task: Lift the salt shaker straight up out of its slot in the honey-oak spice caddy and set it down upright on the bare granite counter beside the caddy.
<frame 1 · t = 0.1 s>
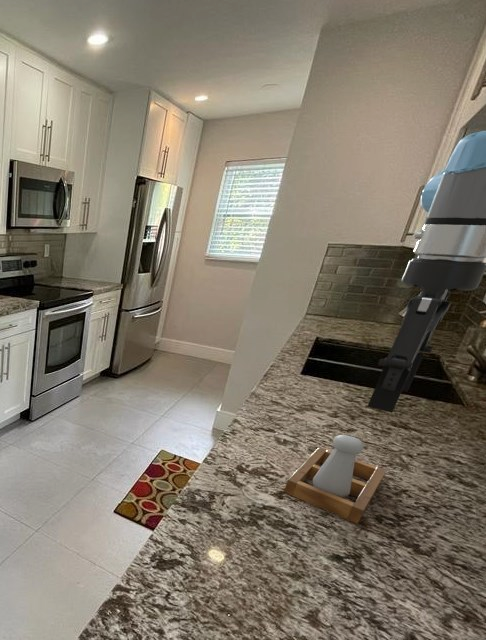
hand: (388, 398, 64), 25 cm above the countertop, tool pointing down, fingers open, 13 cm apart
salt shaker: (326, 496, 81), resting in caddy
caddy: (333, 486, 84), on the countertop
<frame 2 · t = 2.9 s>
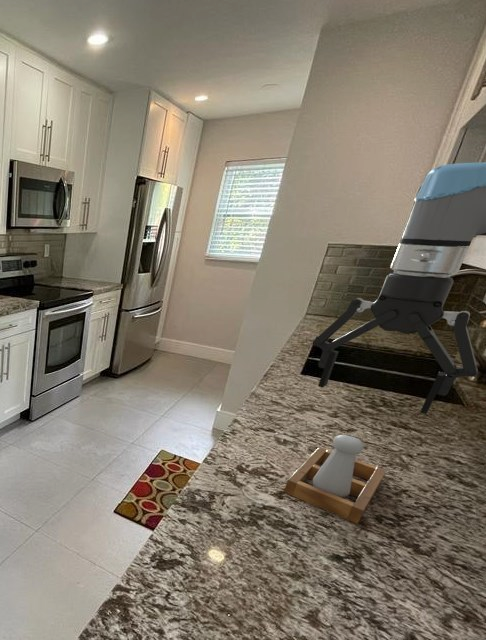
hand: (369, 397, 72), 22 cm above the countertop, tool pointing down, fingers open, 13 cm apart
nothing on the countertop moved.
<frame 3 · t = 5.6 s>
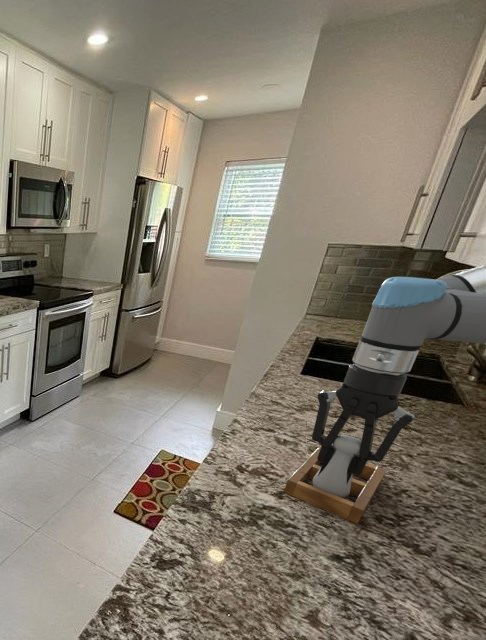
hand: (332, 480, 80), 4 cm above the countertop, tool pointing down, fingers closed on salt shaker, 3 cm apart
salt shaker: (326, 496, 81), resting in caddy, touching gripper
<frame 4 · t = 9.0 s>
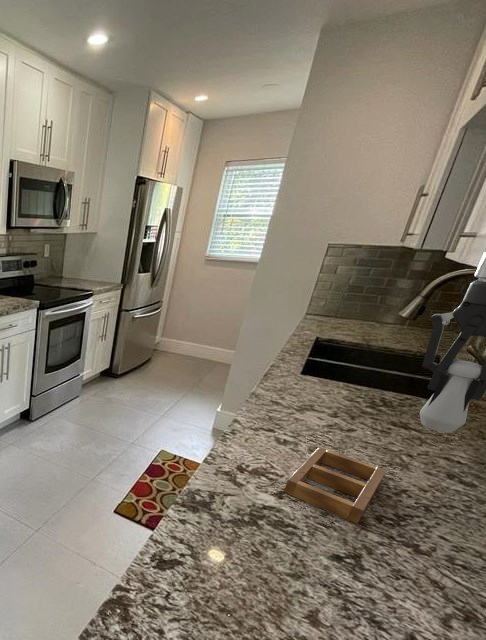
hand: (444, 410, 76), 19 cm above the countertop, tool pointing down, fingers closed on salt shaker, 3 cm apart
salt shaker: (436, 428, 77), point 15 cm above the countertop, touching gripper
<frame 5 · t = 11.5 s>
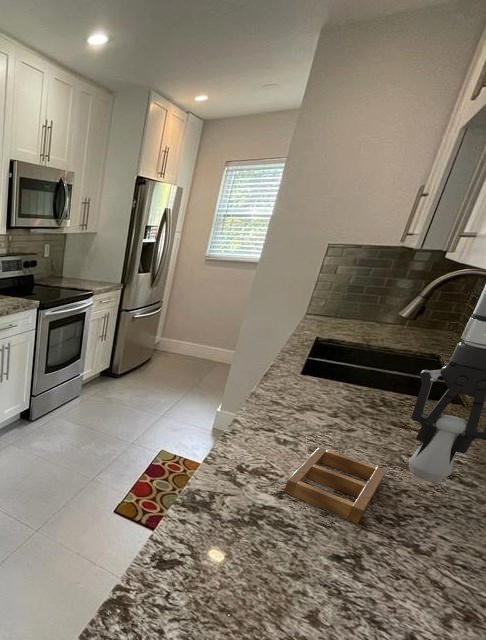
hand: (432, 460, 80), 8 cm above the countertop, tool pointing down, fingers closed on salt shaker, 3 cm apart
salt shaker: (424, 477, 82), point 4 cm above the countertop, touching gripper
when the fingers open (4 cm above the countertop, at t = 12.7 s): salt shaker stays where it is, on the countertop.
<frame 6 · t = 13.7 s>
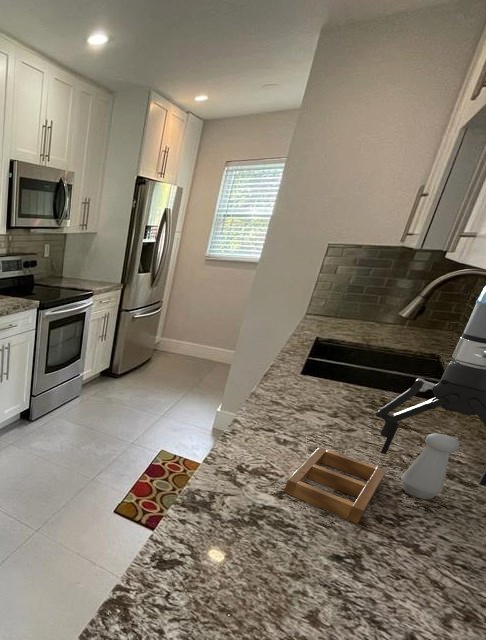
hand: (430, 466, 81), 6 cm above the countertop, tool pointing down, fingers open, 13 cm apart
salt shaker: (416, 493, 83), on the countertop
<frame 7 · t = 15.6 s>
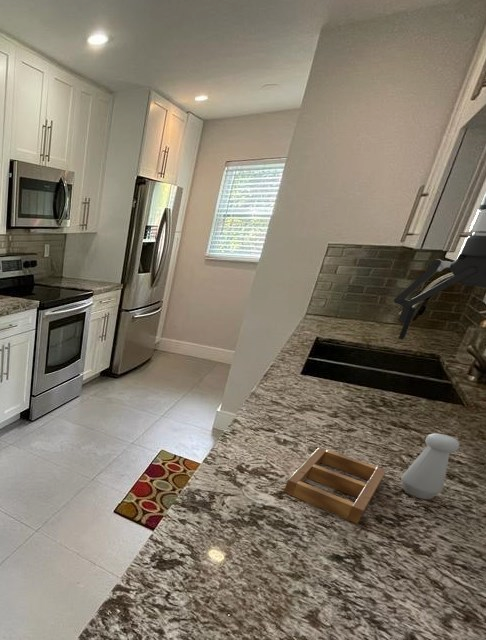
hand: (447, 345, 83), 28 cm above the countertop, tool pointing down, fingers open, 13 cm apart
nothing on the countertop moved.
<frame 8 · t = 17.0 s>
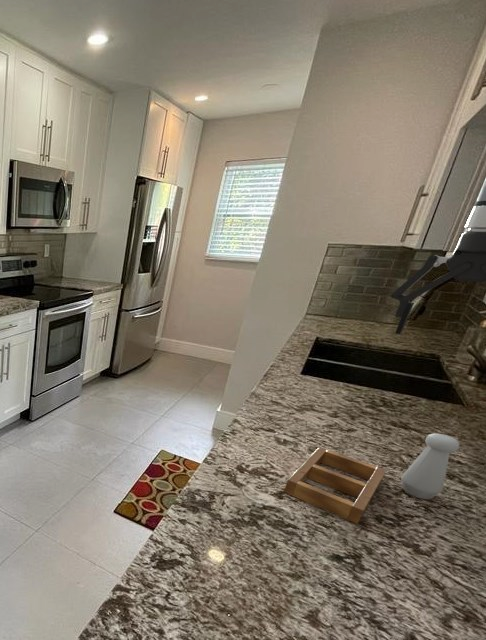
hand: (443, 340, 85), 29 cm above the countertop, tool pointing down, fingers open, 13 cm apart
nothing on the countertop moved.
at the end: salt shaker inside the target area (0.0 cm from its centre), on the countertop; salt shaker tilted 0°; the gripper is holding nothing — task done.
